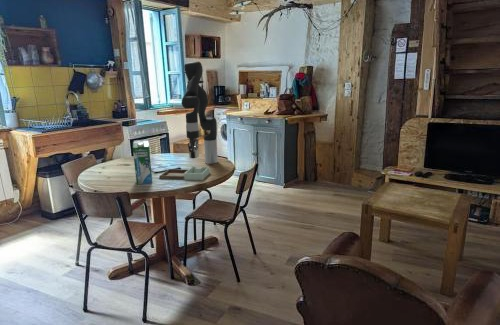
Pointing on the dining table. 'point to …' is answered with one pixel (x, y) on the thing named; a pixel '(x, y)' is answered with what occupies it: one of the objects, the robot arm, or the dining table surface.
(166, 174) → the tray
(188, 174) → the bin
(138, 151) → the milk carton
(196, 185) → the dining table surface
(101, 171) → the dining table surface
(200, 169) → the stone
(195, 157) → the stone
